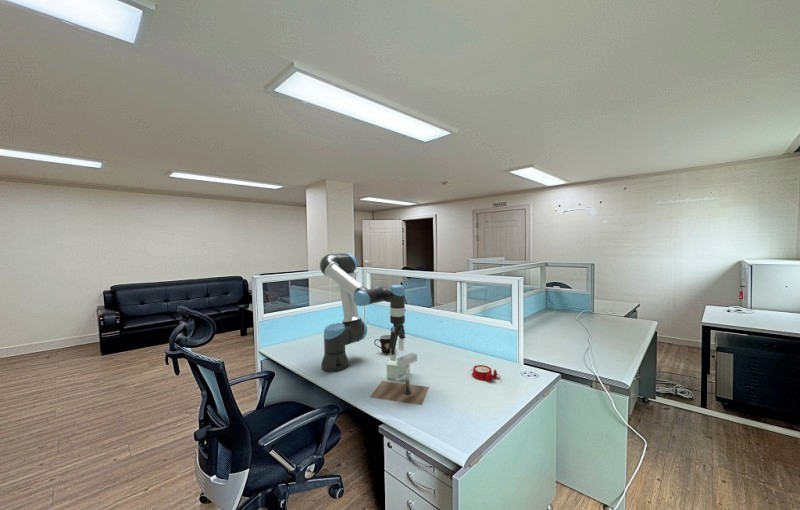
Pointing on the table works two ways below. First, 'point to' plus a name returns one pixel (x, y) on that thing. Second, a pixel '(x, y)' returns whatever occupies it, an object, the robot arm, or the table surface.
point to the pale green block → (395, 370)
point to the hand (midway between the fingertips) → (397, 355)
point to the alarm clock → (484, 373)
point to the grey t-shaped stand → (406, 368)
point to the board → (400, 392)
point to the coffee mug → (384, 344)
